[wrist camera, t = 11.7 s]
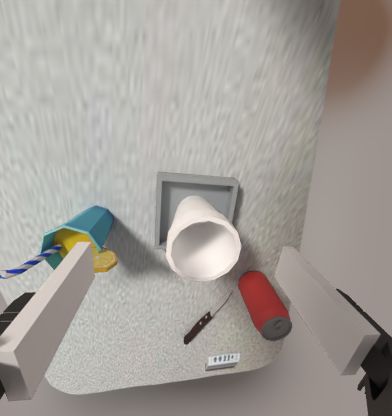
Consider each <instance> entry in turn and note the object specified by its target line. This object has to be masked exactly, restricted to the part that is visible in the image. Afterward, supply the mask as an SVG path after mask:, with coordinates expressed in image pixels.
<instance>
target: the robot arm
mask: <svg viewBox="0 0 392 416" xmlns="http://www.w3.org/2000/svg"><path fill="white" fill-rule="evenodd" d="M94 277H95V274H94V265H93V257H92V248H91V242H77V244H76V245H75V246H74V247H73V248H72V250H71V251H70V252H69V253H68V254H67V256H66V257H65V258H64V259H63V261H62V262H61V263H60V264H59V265H58V267H57V268H56V269H55V270H54V272H53V273H52V274H51V275H50V276H49V278H48V279H47V280H46V281H45V282H44V284H43V285H42V286H41V287H40V289H39V290H38V291H37V292H35V293H24V294H23V295H22V296H20V297H19V298H17V299H16V300H14V301H13V302H12V303H11V304H10V305H9V306H8V307H7V309H6V310H5V311H4V312H3V314H1V315H0V399H1V397H2V396H3V394H4V393H5V394H6V396H7V399H8V401H18V400H31V399H32V397H33V395H34V394H35V392H36V390H37V388H38V385H39V384H40V382H41V380H42V378H43V376H44V374H45V372H46V370H47V368H48V366H49V365H50V363H51V361H52V359H53V357H54V355H55V353H56V351H57V349H58V347H59V345H60V343H61V341H62V339H63V337H64V336H65V334H66V332H67V330H68V328H69V326H70V324H71V322H72V320H73V318H74V316H75V314H76V312H77V310H78V308H79V306H80V305H81V303H82V301H83V299H84V297H85V295H86V293H87V291H88V289H89V287H90V285H91V283H92V281H93V279H94ZM274 277H275V279H276V280H277V282H278V283H279V285H280V286H281V288H282V289H283V291H284V292H285V294H286V295H287V297H288V298H289V300H290V301H291V303H292V304H293V306H294V307H295V308H296V310H297V311H298V313H299V314H300V316H301V317H302V319H303V320H304V322H305V323H306V325H307V326H308V328H309V329H310V331H311V332H312V334H313V335H314V336H315V338H316V340H317V341H318V342H319V344H320V345H321V347H322V348H323V350H324V351H325V353H326V354H327V356H328V357H329V359H330V360H331V361H332V363H333V365H334V366H335V368H336V369H337V371H338V372H339V373H340V375H352V374H353V375H354V374H356V372H357V371H358V369H359V367H360V366H361V367H362V368H363V369H364V371H365V372H366V374H365V376H364V377H363V379H362V380H361V382H360V383H359V385H358V390H359V391H360V390H361V389H362V388H363V386H365V394H366V399H367V408H368V416H392V337H391V336H389V335H388V334H387V333H386V332H385V331H384V330H383V329H382V328H381V327H380V326H379V325H378V324H377V323H376V322H375V321H374V320H373V319H372V318H371V317H370V316H369V315H368V314H367V313H366V312H363V310H362V309H361V308H360V307H359V306H358V305H356V303H355V302H354V301H353V300H352V299H351V298H350V297H349V296H348V295H346V294H345V293H343V292H342V291H340V290H339V289H335V288H334V287H333V286H332V285H331V284H330V283H329V282H328V281H327V280H326V279H325V278H324V277H323V276H322V275H321V274H320V273H319V272H318V271H317V270H316V269H315V268H314V267H313V266H312V265H311V264H310V263H309V262H308V261H307V260H306V259H305V258H304V257H303V256H302V255H301V254H300V253H299V252H298V251H297V250H296V249H295V248H294V247H287V246H283V248H282V252H281V255H280V258H279V262H278V265H277V268H276V272H275V275H274Z"/></svg>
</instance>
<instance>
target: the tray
mask: <svg viewBox="0 0 392 416" xmlns="http://www.w3.org/2000/svg"><path fill="white" fill-rule="evenodd" d="M238 187H239V181H238V180H236V179H235V178H228V177H215V176H203V175H191V174H179V173H166V172H158V174H157V192H156V221H155V249H164V250H166V247H167V237H168V231H169V230H170V228H171V226H172V223H173V220H174V217H175V213H176V210H177V208H178V206H179V204H180V203H181V201H182V200H184V199H185V198H187V197H189V196H199V197H202V198H204V199H205V200H206V201H207V202H208V203H209V204H210V205H211V206H212V207H213V208H214V209H215V210H217V211H218V212H219V213H221V214H223V215H224V216H225V217H226V218H227V219H228V220H229V221H230V222H231V223H232V220H233V214H234V209H235V203H236V198H237V192H238Z"/></svg>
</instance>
